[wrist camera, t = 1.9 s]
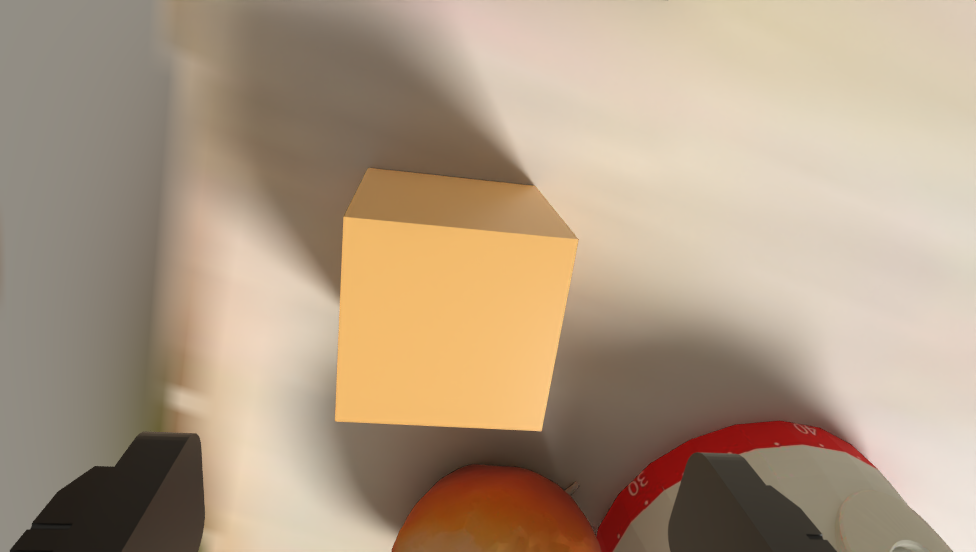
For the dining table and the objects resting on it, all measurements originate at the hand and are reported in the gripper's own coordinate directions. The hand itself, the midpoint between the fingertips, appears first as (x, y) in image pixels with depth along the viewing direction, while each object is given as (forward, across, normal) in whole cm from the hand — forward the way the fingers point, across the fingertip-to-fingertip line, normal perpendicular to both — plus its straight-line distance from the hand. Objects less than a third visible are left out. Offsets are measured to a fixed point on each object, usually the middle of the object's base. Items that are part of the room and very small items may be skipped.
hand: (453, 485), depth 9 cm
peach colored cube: (+12, 0, 0) cm, 12 cm away
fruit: (+12, -3, +11) cm, 16 cm away
